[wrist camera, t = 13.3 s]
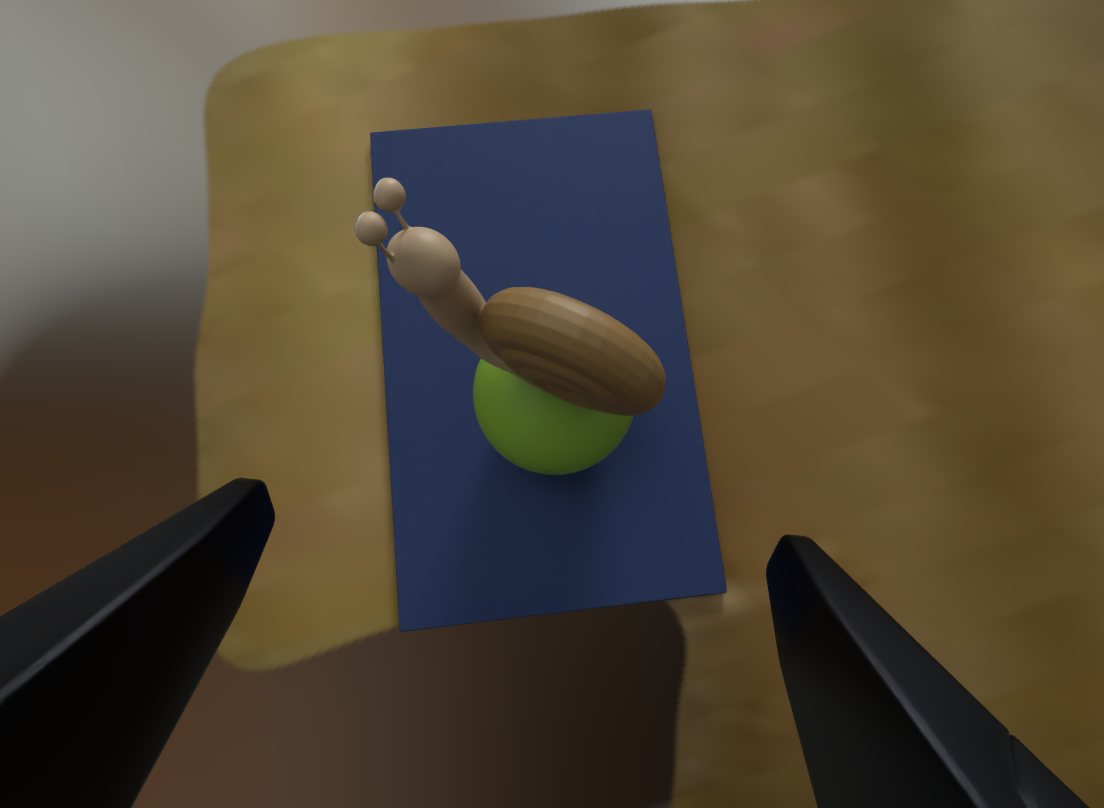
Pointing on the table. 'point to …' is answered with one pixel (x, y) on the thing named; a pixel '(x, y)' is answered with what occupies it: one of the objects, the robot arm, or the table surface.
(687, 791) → the table surface
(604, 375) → the snail figurine
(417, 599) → the navy cloth
